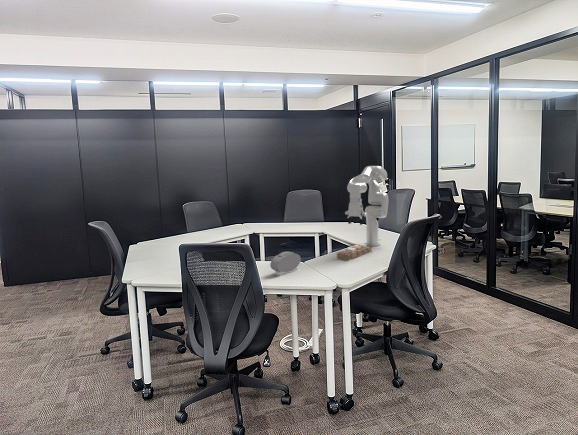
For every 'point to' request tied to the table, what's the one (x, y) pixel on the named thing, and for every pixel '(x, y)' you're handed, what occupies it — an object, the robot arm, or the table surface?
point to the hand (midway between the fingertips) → (355, 224)
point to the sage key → (363, 245)
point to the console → (353, 253)
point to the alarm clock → (285, 263)
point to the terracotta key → (357, 247)
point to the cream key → (351, 249)
